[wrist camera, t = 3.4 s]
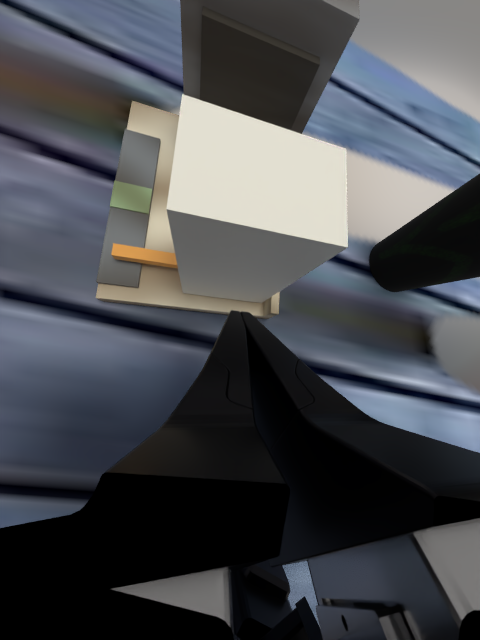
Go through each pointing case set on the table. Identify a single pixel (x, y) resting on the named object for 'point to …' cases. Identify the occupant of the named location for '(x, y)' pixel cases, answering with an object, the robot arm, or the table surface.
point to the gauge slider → (248, 205)
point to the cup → (433, 244)
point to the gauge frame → (227, 92)
